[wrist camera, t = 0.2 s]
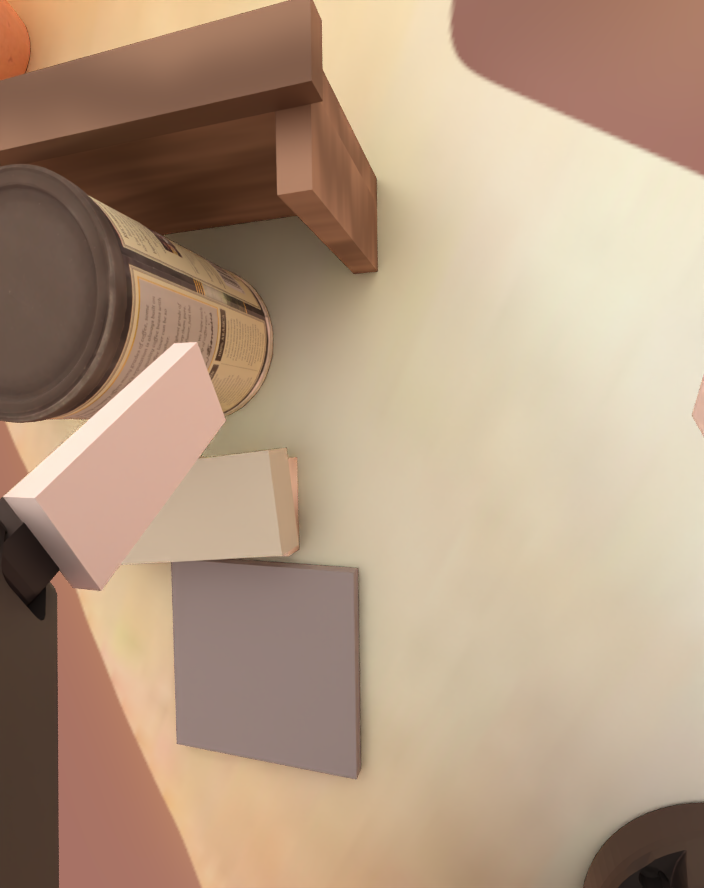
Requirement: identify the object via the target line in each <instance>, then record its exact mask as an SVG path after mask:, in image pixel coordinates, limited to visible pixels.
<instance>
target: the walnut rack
mask: <svg viewBox="0 0 704 888" xmlns="http://www.w3.org/2000/svg"><path fill="white" fill-rule="evenodd" d="M12 164H29V165H36V166H40V167H44V168H47V169H49V170H51V171H53V172H55V173H57V174H59V175H61V176H63V177H64V178H66V179H67V180H69V181H71V182H72V183H74V184H75V185H76V186H78V187H79V188H80V189H82V190H83V191H84V192H85V193H86V194H87V195H89V196H91V197H92V198H94V199H96V200H98V201H100V202H102V203H103V204H105V205H107V206H109V207H111V208H113V209H115V210H116V211H118V212H120V213H122V214H124V215H126V216H128V217H129V218H131V219H133V220H135V221H137V222H139V223H141V224H142V225H144V226H146V227H148V228H149V229H151V230H153V231H155V232H157V233H158V234H160V235H164V234H171V233H178V232H185V231H192V230H199V229H206V228H213V227H220V226H227V225H234V224H241V223H248V222H255V221H262V220H269V219H276V218H283V217H290V216H298V217H299V218H300V219H301V220H302V221H303V222H304V223H305V224H306V225H307V226H308V227H309V228H310V229H311V230H312V231H313V232H314V233H315V235H316V236H317V237H318V238H319V239H320V240H321V241H322V242H323V243H324V244H325V245H326V246H327V247H328V248H329V249H330V250H331V251H332V252H333V253H334V254H335V255H336V256H337V257H338V258H339V259H340V260H341V261H342V262H343V263H344V264H345V265H346V266H347V267H348V268H349V269H350V271H351V272H352V273H353V274H358V273H368V272H377V271H378V258H377V178H376V176H375V174H374V172H373V170H372V168H371V166H370V164H369V162H368V160H367V158H366V156H365V154H364V152H363V150H362V148H361V146H360V144H359V142H358V140H357V138H356V136H355V134H354V132H353V130H352V128H351V126H350V124H349V122H348V120H347V118H346V116H345V114H344V112H343V110H342V108H341V106H340V104H339V102H338V100H337V98H336V96H335V94H334V92H333V90H332V88H331V86H330V84H329V82H328V80H327V78H326V76H325V74H324V72H323V70H322V20H321V18H320V16H319V13H318V11H317V9H316V6H315V4H314V2H313V0H288V1H285V2H281V3H278V4H274V5H270V6H267V7H263V8H260V9H256V10H252V11H249V12H245V13H242V14H238V15H234V16H231V17H227V18H224V19H220V20H216V21H213V22H209V23H206V24H202V25H198V26H195V27H191V28H188V29H184V30H180V31H177V32H173V33H170V34H166V35H162V36H159V37H155V38H152V39H148V40H144V41H141V42H137V43H134V44H130V45H126V46H123V47H119V48H116V49H112V50H108V51H105V52H101V53H98V54H94V55H90V56H87V57H83V58H80V59H76V60H72V61H69V62H65V63H62V64H58V65H54V66H51V67H47V68H44V69H40V70H36V71H33V72H29V73H26V74H22V75H18V76H15V77H11V78H8V79H4V80H0V166H6V165H12Z"/></svg>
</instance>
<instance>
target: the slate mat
mask: <svg viewBox="0 0 704 888" xmlns="http://www.w3.org/2000/svg"><path fill="white" fill-rule="evenodd" d="M171 570H172V603H173V635H174V668H175V700H176V733H177V744H180V745H185V746H190V747H195V748H200V749H205V750H210V751H215V752H220V753H225V754H230V755H236V756H241V757H246V758H251V759H256V760H261V761H266V762H271V763H276V764H281V765H286V766H291V767H296V768H301V769H306V770H311V771H316V772H321V773H326V774H331V775H337V776H342V777H347V778H352V779H357V777H358V775H359V772H360V770H361V741H360V671H359V601H358V568H351V567H337V566H323V565H309V564H295V563H281V562H267V561H254V560H240V559H216V560H199V561H181V562H171Z"/></svg>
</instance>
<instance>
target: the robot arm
mask: <svg viewBox="0 0 704 888" xmlns="http://www.w3.org/2000/svg"><path fill="white" fill-rule="evenodd" d="M692 417H693V419H694V421H695V422H696V424H697V426H698V428H699V429H700V431H701V433H702V434H703V436H704V375H703V379H702V382H701V385H700V389H699V392H698V396H697V399H696V403H695V406H694V409H693V413H692ZM225 421H226V419H225V417H224V414H223V411H222V408H221V406H220V403H219V400H218V397H217V395H216V392H215V389H214V387H213V384H212V381H211V378H210V376H209V373H208V370H207V368H206V365H205V362H204V359H203V357H202V354H201V351H200V348H199V346H198V343H197V342H189V343H174V344H173V345H172V346H171V347H170V348H169V349H167V350H166V351H165V352H164V353H163V354H162V355H161V356H160V357H158V358H157V359H156V360H155V361H154V362H153V363H152V364H151V365H150V366H148V367H147V368H146V369H145V370H144V371H143V372H142V373H141V374H139V375H138V376H137V377H136V378H135V379H134V380H133V381H132V382H131V383H129V384H128V385H127V386H126V387H125V388H124V389H123V390H122V391H120V392H119V393H118V394H117V395H116V396H115V397H114V398H113V399H112V400H110V401H109V402H108V403H107V404H106V405H105V406H104V407H103V408H102V409H100V410H99V411H98V412H97V413H96V414H95V415H94V416H93V417H91V418H90V419H89V420H88V421H87V422H86V423H85V424H84V425H83V426H81V427H80V428H79V429H78V430H77V431H76V432H75V433H74V434H72V435H71V436H70V437H69V438H68V439H67V440H66V441H65V442H63V443H62V444H61V445H60V446H59V447H58V448H57V449H55V450H54V451H53V452H52V453H51V454H50V455H49V456H48V457H47V458H45V459H44V460H43V461H42V462H41V463H40V464H39V465H38V466H37V467H36V468H35V469H33V470H32V471H31V472H30V473H29V474H28V475H26V476H25V477H24V478H23V479H22V480H21V481H20V482H19V483H17V484H16V485H15V486H14V487H13V488H12V489H11V490H10V491H9V492H8V493H6V494H5V495H4V496H3V497H2V498H1V499H0V888H59V848H58V847H59V838H58V686H57V685H58V684H57V683H58V678H57V677H58V674H57V673H58V672H57V593H56V590H55V588H54V586H53V585H52V584H51V583H50V581H51V579H52V578H53V577H54V576H55V575H56V573H57V572H58V571H60V572H61V573H62V574H63V576H64V577H65V578H66V580H67V581H68V582H69V583H70V585H71V586H72V587H73V588H78V589H88V590H98V591H102V589H103V588H104V586H105V585H106V584H107V582H108V581H109V580H110V578H111V577H112V576H113V574H114V573H115V571H116V570H117V569H118V567H119V566H120V565H121V563H122V562H123V561H124V559H125V558H126V556H127V555H128V554H129V552H130V551H131V550H132V548H133V547H134V545H135V544H136V543H137V541H138V540H139V539H140V537H141V536H142V535H143V533H144V532H145V530H146V529H147V528H148V526H149V525H150V524H151V522H152V521H153V520H154V518H155V517H156V515H157V514H158V513H159V511H160V510H161V509H162V507H163V506H164V505H165V503H166V502H167V500H168V499H169V498H170V496H171V495H172V494H173V492H174V491H175V489H176V488H177V487H178V485H179V484H180V483H181V481H182V480H183V479H184V477H185V476H186V474H187V473H188V472H189V470H190V469H191V468H192V466H193V465H194V464H195V462H196V461H197V459H198V458H199V457H200V455H201V454H202V453H203V451H204V450H205V448H206V447H207V446H208V444H209V443H210V442H211V440H212V439H213V438H214V436H215V435H216V433H217V432H218V431H219V429H220V428H221V427H222V425H223V424H224V423H225ZM583 888H704V803H689V804H681V805H675V806H670V807H666V808H662V809H658V810H656V811H653V812H650V813H647V814H645V815H643V816H641V817H638V818H637V819H635V820H633V821H631V822H629V823H628V824H626V825H625V826H623V827H622V828H621V829H619V830H618V831H617V832H616V833H614V834H613V835H612V836H611V837H610V838H609V839H608V840H607V841H606V843H605V844H604V845H603V846H602V847H601V849H600V850H599V852H598V853H597V854H596V856H595V858H594V860H593V862H592V863H591V866H590V868H589V870H588V873H587V876H586V879H585V883H584V887H583Z"/></svg>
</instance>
